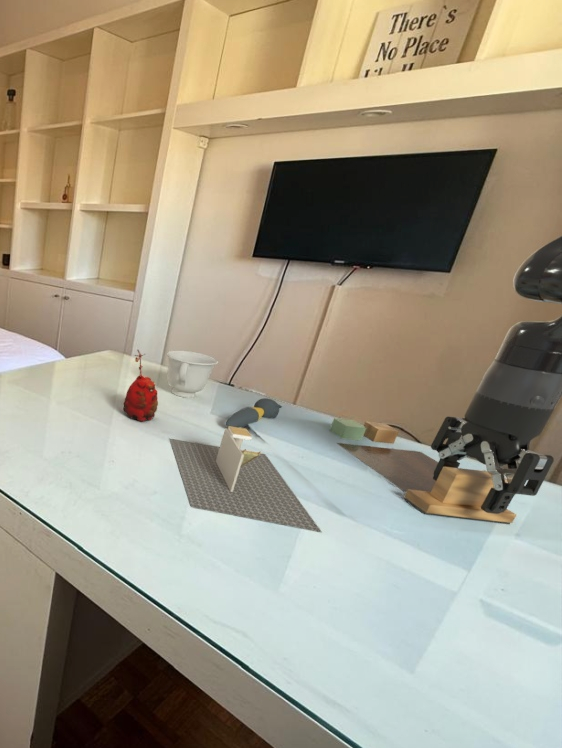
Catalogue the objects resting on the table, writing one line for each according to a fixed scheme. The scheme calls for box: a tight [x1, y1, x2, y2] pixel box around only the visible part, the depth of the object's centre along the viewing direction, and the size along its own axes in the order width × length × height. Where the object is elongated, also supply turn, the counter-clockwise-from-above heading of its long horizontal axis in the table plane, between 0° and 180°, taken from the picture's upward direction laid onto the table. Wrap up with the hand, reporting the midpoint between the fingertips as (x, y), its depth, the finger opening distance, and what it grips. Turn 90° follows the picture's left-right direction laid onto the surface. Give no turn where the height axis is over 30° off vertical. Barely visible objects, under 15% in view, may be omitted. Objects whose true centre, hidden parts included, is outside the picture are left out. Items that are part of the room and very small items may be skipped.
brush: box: [403, 467, 517, 525], centre depth 69 cm, size 12×4×8 cm, turn 83°
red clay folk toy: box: [122, 349, 159, 422], centre depth 99 cm, size 8×7×15 cm
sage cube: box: [329, 417, 366, 441], centre depth 96 cm, size 4×4×4 cm
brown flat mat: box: [336, 442, 439, 492], centre depth 83 cm, size 16×18×1 cm
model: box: [215, 426, 262, 492], centre depth 77 cm, size 3×11×8 cm, turn 165°
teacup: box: [166, 350, 219, 399], centre depth 115 cm, size 12×15×10 cm
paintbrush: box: [225, 397, 283, 428], centre depth 101 cm, size 20×5×5 cm, turn 126°
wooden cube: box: [363, 421, 400, 445], centre depth 95 cm, size 4×4×4 cm
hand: (463, 495), depth 69 cm, fingers open, 8 cm apart
